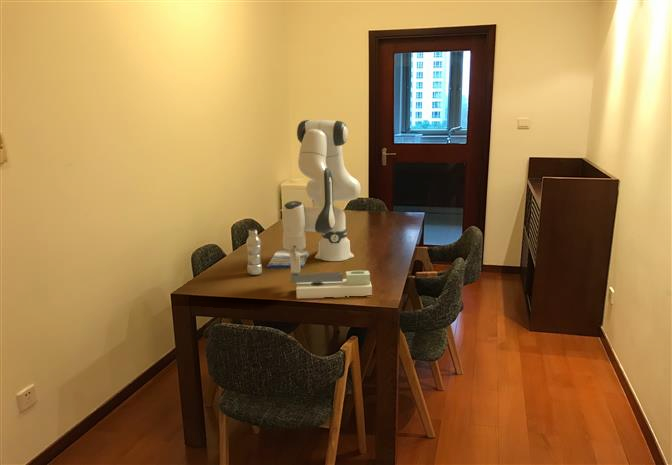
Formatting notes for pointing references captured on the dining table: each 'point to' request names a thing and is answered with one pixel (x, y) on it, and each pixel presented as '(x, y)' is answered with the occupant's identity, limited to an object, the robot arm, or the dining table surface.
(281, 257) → the dish towel
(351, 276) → the cover
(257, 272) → the plastic bottle
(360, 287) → the housing
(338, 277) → the grey bar
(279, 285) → the dining table surface
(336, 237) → the robot arm
